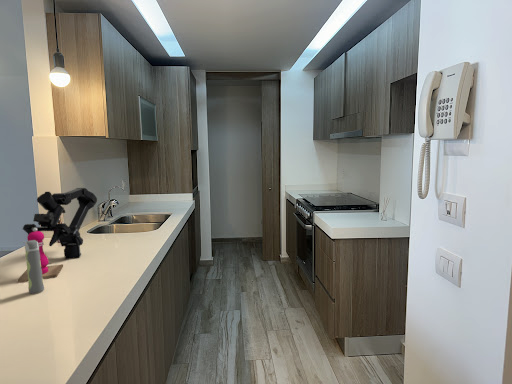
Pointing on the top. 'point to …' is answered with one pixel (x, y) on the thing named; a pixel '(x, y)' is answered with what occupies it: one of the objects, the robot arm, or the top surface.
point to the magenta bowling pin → (39, 238)
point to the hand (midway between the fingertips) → (39, 246)
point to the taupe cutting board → (51, 273)
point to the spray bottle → (34, 267)
